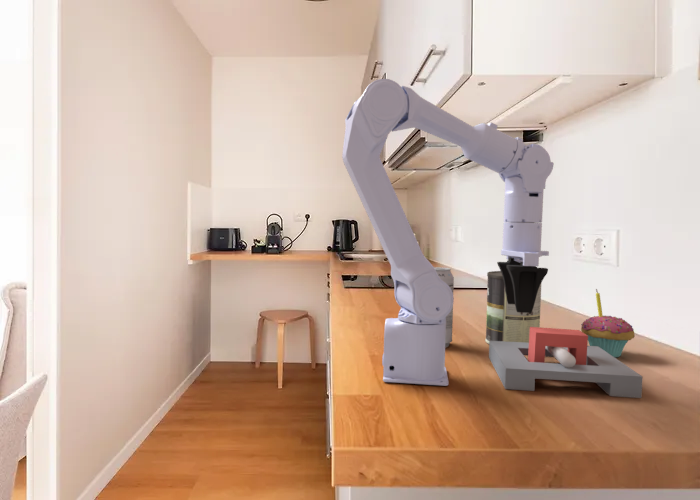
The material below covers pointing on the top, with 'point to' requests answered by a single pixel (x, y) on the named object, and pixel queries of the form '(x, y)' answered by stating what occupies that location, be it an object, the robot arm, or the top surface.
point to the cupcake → (607, 331)
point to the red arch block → (557, 343)
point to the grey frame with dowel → (563, 369)
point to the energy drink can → (449, 279)
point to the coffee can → (507, 314)
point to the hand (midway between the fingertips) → (518, 307)
